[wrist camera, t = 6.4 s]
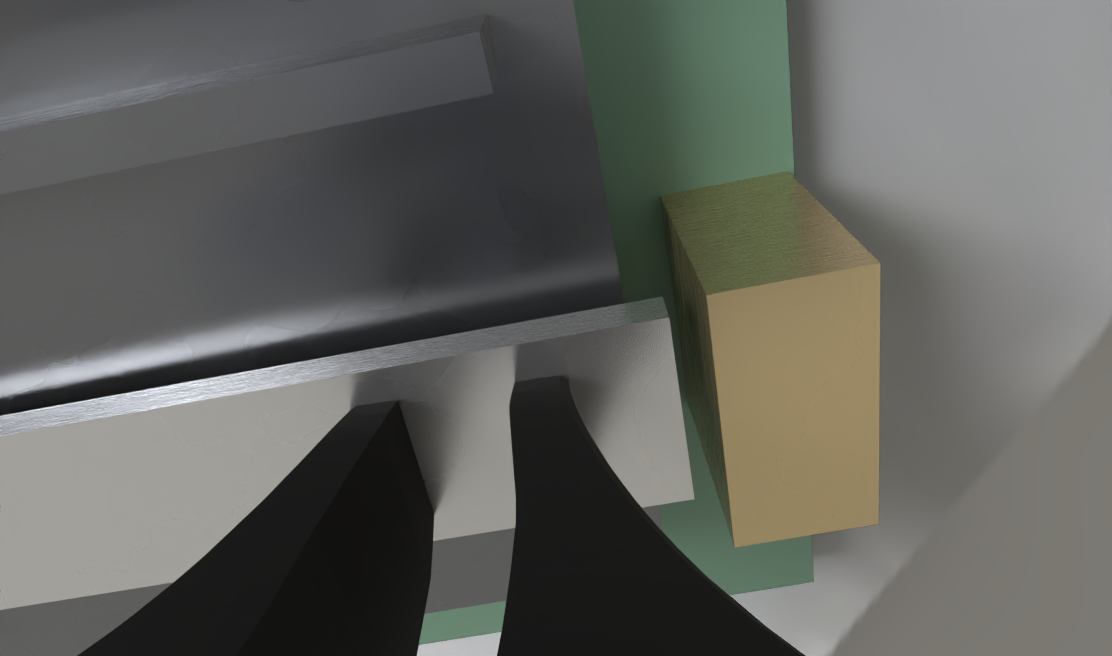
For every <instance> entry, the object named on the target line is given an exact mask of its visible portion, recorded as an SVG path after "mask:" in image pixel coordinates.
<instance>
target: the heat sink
mask: <svg viewBox="0 0 1112 656" xmlns="http://www.w3.org/2000/svg"><path fill="white" fill-rule="evenodd" d="M660 198H661V206H662V213H663V221H664V228H665V235H666V243H667V250H668V258H669V265H670V273H671V280H672V288H673V295H674V303H675V310H676V317H677V325H678V332H679V340H680V347H681V355H682V362H683V370H684V377H685V384H686V392H687V399H688V405H689V408H690V411H691V415H692V418H693V421H694V424H695V427H696V430H697V433H698V436H699V439H700V442H701V445H702V448H703V452H704V455H705V458H706V461H707V464H708V467H709V470H710V473H711V476H712V479H713V482H714V485H715V489H716V492H717V495H718V498H719V501H720V504H721V507H722V510H723V513H724V516H725V519H726V522H727V526H728V529H729V532H730V535H731V538H732V541H733V544H734V547H741V546H747V545H753V544H759V543H765V542H771V541H777V540H784V539H790V538H796V537H802V536H808V535H814V534H820V533H826V532H832V531H838V530H845V529H851V528H857V527H863V526H869V525H875V524H879V402H880V265H881V263H880V262H879V261H878V260H877V259H876V258H875V257H874V256H873V255H872V254H871V253H870V252H869V251H868V250H867V249H866V248H865V247H864V246H863V245H862V244H861V243H860V242H859V241H858V240H857V239H856V238H855V237H854V236H853V235H852V234H851V233H850V232H849V231H848V230H847V229H846V228H845V227H844V226H843V225H842V224H841V223H840V222H839V221H838V220H837V219H836V218H835V217H834V216H833V215H832V214H831V213H830V212H829V211H828V210H827V209H826V208H825V207H824V206H823V205H821V204H820V203H819V202H818V201H817V200H816V199H815V198H814V197H813V196H812V195H811V194H810V193H809V192H808V191H807V190H806V189H805V188H804V187H803V186H802V185H801V184H800V183H799V182H798V181H797V180H796V179H795V178H794V177H793V176H792V175H791V174H790V173H789V172H788V171H785V172H780V173H775V174H770V175H765V176H760V177H754V178H749V179H744V180H739V181H734V182H729V183H723V184H718V185H713V186H708V187H703V188H698V189H693V190H687V191H682V192H677V193H672V194H667V195H662V196H660ZM618 304H624V299H623V293H622V288H621V282H620V276H619V270H618V264H617V258H616V252H615V246H614V240H613V234H612V228H611V222H610V217H609V211H608V205H607V199H606V193H605V187H604V181H603V175H602V169H601V163H600V157H599V151H598V145H597V140H596V134H595V128H594V122H593V116H592V110H591V104H590V98H589V92H588V86H587V80H586V74H585V69H584V63H583V57H582V51H581V45H580V39H579V33H578V27H577V21H576V15H575V9H574V3H573V0H0V416H1V415H6V414H12V413H17V412H23V411H28V410H34V409H40V408H45V407H51V406H56V405H62V404H67V403H73V402H78V401H84V400H90V399H95V398H101V397H106V396H112V395H117V394H123V393H129V392H134V391H140V390H145V389H151V388H156V387H162V386H167V385H173V384H179V383H184V382H190V381H195V380H201V379H206V378H212V377H218V376H223V375H229V374H234V373H240V372H245V371H251V370H256V369H262V368H268V367H273V366H279V365H284V364H290V363H295V362H301V361H307V360H312V359H318V358H323V357H329V356H334V355H340V354H346V353H351V352H357V351H362V350H368V349H373V348H379V347H384V346H390V345H396V344H401V343H407V342H412V341H418V340H423V339H429V338H435V337H440V336H446V335H451V334H457V333H462V332H468V331H473V330H479V329H485V328H490V327H496V326H501V325H507V324H512V323H518V322H524V321H529V320H535V319H540V318H546V317H551V316H557V315H562V314H568V313H574V312H579V311H585V310H590V309H596V308H601V307H607V306H613V305H618ZM642 509H643V510H644V511H645V512H646V514H647V515H648V516H649V517H650V518H651V519H652V520H653V522H654V523H655V524H656V525H657V526H658V527H659V528H660V529H661V530H662V524H661V518H660V512H659V507H658V505H655V506H649V507H643V508H642ZM662 532H663V530H662ZM514 534H515V528H511V529H505V530H498V531H492V532H486V533H480V534H473V535H467V536H461V537H454V538H448V539H442V540H436V541H433V553H432V568H431V581H430V586H429V592H428V598H427V603H426V608H425V614H428V613H434V612H440V611H446V610H452V609H458V608H464V607H471V606H477V605H483V604H489V603H495V602H501V601H506V599H507V592H508V585H509V578H510V570H511V561H512V552H513V543H514ZM172 583H173V582H172ZM172 583H166V584H160V585H154V586H147V587H141V588H135V589H128V590H122V591H116V592H110V593H103V594H97V595H91V596H85V597H78V598H72V599H66V600H60V601H53V602H47V603H41V604H34V605H28V606H22V607H16V608H9V609H3V610H0V656H77V655H79V654H80V653H82V652H83V651H84V650H86V649H87V648H89V647H90V646H91V645H93V644H94V643H96V642H97V641H98V640H100V639H101V638H103V637H104V636H105V635H107V634H108V633H110V632H111V631H113V630H114V629H115V628H117V627H118V626H119V625H121V624H122V623H123V622H125V621H126V620H127V619H128V618H130V617H131V616H132V615H134V614H135V613H136V612H137V611H139V610H140V609H141V608H142V607H144V606H145V605H146V604H147V603H149V602H150V601H151V600H152V599H154V598H155V597H156V596H157V595H159V594H160V593H161V592H162V591H164V590H165V589H166V588H167V587H169V586H170V585H171V584H172Z"/></svg>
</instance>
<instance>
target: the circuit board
mask: <svg viewBox="0 0 1112 656" xmlns="http://www.w3.org/2000/svg"><path fill="white" fill-rule="evenodd" d="M573 3H574V9H575V15H576V21H577V27H578V33H579V39H580V45H581V51H582V57H583V63H584V69H585V74H586V80H587V86H588V92H589V98H590V104H591V110H592V116H593V122H594V128H595V134H596V140H597V145H598V151H599V157H600V163H601V169H602V175H603V181H604V187H605V193H606V199H607V205H608V211H609V217H610V222H611V228H612V234H613V240H614V246H615V252H616V258H617V264H618V270H619V276H620V282H621V288H622V293H623V299H624V303H629V302H635V301H640V300H646V299H652V298H657V297H663V300H664V303H665V306H666V309H667V312H668V315H669V320H670V327H671V334H672V341H673V348H674V355H675V363H676V370H677V377H678V384H679V391H680V399H681V406H682V413H683V420H684V427H685V434H686V442H687V449H688V456H689V463H690V470H691V477H692V485H693V492H694V499H693V500H686V501H680V502H674V503H668V504H661V505H658V507H659V512H660V518H661V524H662V530H663V533H664V534H665V535H666V536H667V537H668V538H669V539H670V540H671V541H672V542H673V543H674V544H675V545H676V546H677V548H678V549H679V550H681V551H682V552H683V553H684V554H685V555H686V556H687V557H688V558H689V559H690V560H691V561H692V562H693V563H694V564H695V565H696V566H697V567H698V568H699V569H700V570H701V571H702V572H703V573H704V574H705V575H706V576H707V577H708V578H709V579H711V580H712V581H713V582H714V583H715V584H717V585H718V586H719V587H720V588H721V589H722V590H724V591H725V592H726V593H727V594H728V595H733V594H740V593H746V592H752V591H758V590H765V589H771V588H777V587H783V586H790V585H796V584H802V583H808V582H814V577H813V556H812V535H808V536H802V537H796V538H790V539H784V540H777V541H771V542H765V543H759V544H753V545H747V546H741V547H734V544H733V541H732V538H731V535H730V532H729V529H728V526H727V522H726V519H725V516H724V513H723V510H722V507H721V504H720V501H719V498H718V495H717V492H716V489H715V485H714V482H713V479H712V476H711V473H710V470H709V467H708V464H707V461H706V458H705V455H704V452H703V448H702V445H701V442H700V439H699V436H698V433H697V430H696V427H695V424H694V421H693V418H692V415H691V411H690V408H689V405H688V399H687V392H686V384H685V377H684V370H683V362H682V355H681V347H680V340H679V332H678V325H677V317H676V310H675V303H674V295H673V288H672V280H671V273H670V265H669V258H668V250H667V243H666V235H665V228H664V221H663V213H662V206H661V198H660V196H662V195H667V194H672V193H677V192H682V191H687V190H693V189H698V188H703V187H708V186H713V185H718V184H723V183H729V182H734V181H739V180H744V179H749V178H754V177H760V176H765V175H770V174H775V173H780V172H785V171H788V172H789V173H790V174H791V175H792V176H793V177H794V157H793V136H792V115H791V94H790V73H789V52H788V31H787V10H786V0H573ZM505 606H506V601H501V602H495V603H489V604H483V605H477V606H471V607H464V608H458V609H452V610H446V611H440V612H434V613H428V614H424V619H423V624H422V630H421V635H420V640H419V645H421V644H427V643H434V642H440V641H446V640H452V639H459V638H465V637H471V636H477V635H484V634H490V633H496V632H502V626H503V620H504V613H505Z"/></svg>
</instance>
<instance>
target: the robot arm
mask: <svg viewBox="0 0 1112 656" xmlns="http://www.w3.org/2000/svg"><path fill="white" fill-rule="evenodd" d="M509 415H510V429H511V442H512V455H513V468H514V481H515V494H516V525H515V534H514V543H513V552H512V561H511V570H510V578H509V585H508V592H507V599H506V606H505V613H504V620H503V626H502V633H501V638H500V644H499V649H498V654H497V656H805V655H804V654H802V653H801V652H800V651H798V650H797V649H796V648H794V647H793V646H792V645H790V644H789V643H788V642H786V641H785V640H783V639H782V638H781V637H779V636H778V635H777V634H775V633H774V632H773V631H771V630H770V629H769V628H767V627H766V626H765V625H764V624H762V623H761V622H760V621H759V620H758V619H757V618H755V617H754V616H753V615H752V614H751V613H749V612H748V611H747V610H746V609H745V608H744V607H742V606H741V605H740V604H739V603H738V602H737V601H735V600H734V599H733V598H732V597H731V596H729V595H728V594H727V593H726V592H725V591H724V590H722V589H721V588H720V587H719V586H718V585H717V584H715V583H714V582H713V581H712V580H711V579H709V578H708V577H707V576H706V575H705V574H704V573H703V572H702V571H701V570H700V569H699V568H698V567H697V566H696V565H695V564H694V563H693V562H692V561H691V560H690V559H689V558H688V557H687V556H686V555H685V554H684V553H683V552H682V551H681V550H679V549H678V548H677V546H676V545H675V544H674V543H673V542H672V541H671V540H670V539H669V538H668V537H667V536H666V535H665V534H664V533H663V532H662V530H661V529H660V528H659V527H658V526H657V525H656V524H655V523H654V522H653V520H652V519H651V518H650V517H649V516H648V515H647V514H646V512H645V511H644V510H643V509H642V507H641V506H640V505H639V504H638V503H637V501H636V500H635V499H634V498H633V496H632V495H631V494H630V492H629V491H628V490H627V488H626V487H625V486H624V485H623V483H622V482H621V481H620V479H619V478H618V477H617V475H616V474H615V472H614V471H613V469H612V468H611V467H610V465H609V464H608V462H607V461H606V459H605V457H604V456H603V454H602V453H601V451H600V450H599V448H598V446H597V445H596V443H595V442H594V440H593V439H592V437H591V435H590V433H589V432H588V430H587V428H586V426H585V424H584V422H583V420H582V418H581V416H580V414H579V412H578V410H577V408H576V406H575V403H574V401H573V398H572V395H571V389H570V384H569V381H568V380H566V379H565V378H563V377H562V376H560V375H556V376H550V377H544V378H537V379H531V380H525V381H518V382H515V383H514V386H513V390H512V394H511V399H510V404H509ZM433 532H434V513H433V509H432V506H431V503H430V500H429V497H428V493H427V490H426V487H425V484H424V481H423V477H422V474H421V471H420V468H419V465H418V461H417V458H416V455H415V452H414V449H413V445H412V442H411V439H410V436H409V433H408V429H407V426H406V423H405V420H404V417H403V413H402V410H401V407H400V404H399V401H398V400H393V401H386V402H380V403H373V404H366V405H360V406H355V407H353V408H352V409H351V410H350V411H349V412H348V413H347V414H346V415H345V416H344V417H343V418H342V419H341V420H340V421H339V422H338V423H337V424H336V425H335V426H334V427H333V428H332V429H331V430H330V431H329V432H328V433H327V434H326V435H325V436H324V437H323V438H322V439H321V441H320V442H319V443H318V444H317V445H316V446H315V447H314V448H313V449H312V450H311V451H310V452H309V453H308V454H307V455H306V456H305V457H304V459H303V460H302V461H301V462H300V463H299V464H298V465H297V466H296V467H295V468H294V469H293V470H292V471H291V472H290V473H289V474H288V475H287V476H286V477H285V478H284V479H283V480H282V481H281V482H280V483H279V484H278V485H277V486H276V487H275V489H274V490H273V491H272V492H271V493H270V494H269V495H268V496H267V497H266V498H265V499H264V500H263V501H262V502H261V503H260V504H259V505H258V506H256V507H255V508H254V509H253V510H252V511H251V512H250V513H249V514H248V515H247V516H246V517H245V518H244V519H243V520H242V521H241V522H240V523H239V524H237V525H236V526H235V527H234V528H233V529H232V530H231V531H230V532H229V533H228V534H227V535H226V536H225V537H224V538H223V539H222V540H221V541H220V542H218V543H217V544H216V545H215V546H214V547H213V548H212V549H211V550H210V551H209V552H208V553H207V554H206V555H205V556H203V557H202V558H201V559H200V560H199V561H198V562H197V563H196V564H194V565H193V566H192V567H191V568H190V569H189V570H187V571H186V572H185V573H184V574H183V575H182V576H180V577H179V578H178V579H177V580H176V581H175V582H173V583H172V584H171V585H170V586H169V587H167V588H166V589H165V590H164V591H162V592H161V593H160V594H159V595H157V596H156V597H155V598H154V599H152V600H151V601H150V602H149V603H147V604H146V605H145V606H144V607H142V608H141V609H140V610H139V611H137V612H136V613H135V614H134V615H132V616H131V617H130V618H128V619H127V620H126V621H125V622H123V623H122V624H121V625H119V626H118V627H117V628H115V629H114V630H113V631H111V632H110V633H108V634H107V635H105V636H104V637H103V638H101V639H100V640H98V641H97V642H96V643H94V644H93V645H91V646H90V647H89V648H87V649H86V650H84V651H83V652H82V653H80V654H79V655H77V656H417V651H418V645H419V640H420V635H421V630H422V624H423V619H424V614H425V608H426V603H427V598H428V592H429V586H430V581H431V568H432V553H433Z"/></svg>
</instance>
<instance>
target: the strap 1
mask: <svg viewBox="0 0 1112 656" xmlns="http://www.w3.org/2000/svg"><path fill="white" fill-rule="evenodd" d="M556 375H560V376H562V377H563V378H565V379H566V380H568V381H569V384H570V389H571V395H572V398H573V401H574V403H575V406H576V408H577V410H578V412H579V414H580V416H581V418H582V420H583V422H584V424H585V426H586V428H587V430H588V432H589V433H590V435H591V437H592V439H593V440H594V442H595V443H596V445H597V446H598V448H599V450H600V451H601V453H602V454H603V456H604V457H605V459H606V461H607V462H608V464H609V465H610V467H611V468H612V469H613V471H614V472H615V474H616V475H617V477H618V478H619V479H620V481H621V482H622V483H623V485H624V486H625V487H626V488H627V490H628V491H629V492H630V494H631V495H632V496H633V498H634V499H635V500H636V501H637V503H638V504H639V505H640V506H641V507H642V508H643V507H649V506H655V505H661V504H668V503H674V502H680V501H686V500H693V499H694V492H693V485H692V477H691V470H690V463H689V456H688V449H687V442H686V434H685V427H684V420H683V413H682V406H681V399H680V391H679V384H678V377H677V370H676V363H675V355H674V348H673V341H672V334H671V327H670V320H669V315H668V312H667V309H666V306H665V303H664V300H663V297H657V298H652V299H646V300H640V301H635V302H629V303H624V304H618V305H613V306H607V307H601V308H596V309H590V310H585V311H579V312H574V313H568V314H562V315H557V316H551V317H546V318H540V319H535V320H529V321H524V322H518V323H512V324H507V325H501V326H496V327H490V328H485V329H479V330H473V331H468V332H462V333H457V334H451V335H446V336H440V337H435V338H429V339H423V340H418V341H412V342H407V343H401V344H396V345H390V346H384V347H379V348H373V349H368V350H362V351H357V352H351V353H346V354H340V355H334V356H329V357H323V358H318V359H312V360H307V361H301V362H295V363H290V364H284V365H279V366H273V367H268V368H262V369H256V370H251V371H245V372H240V373H234V374H229V375H223V376H218V377H212V378H206V379H201V380H195V381H190V382H184V383H179V384H173V385H167V386H162V387H156V388H151V389H145V390H140V391H134V392H129V393H123V394H117V395H112V396H106V397H101V398H95V399H90V400H84V401H78V402H73V403H67V404H62V405H56V406H51V407H45V408H40V409H34V410H28V411H23V412H17V413H12V414H6V415H1V416H0V610H3V609H9V608H16V607H22V606H28V605H34V604H41V603H47V602H53V601H60V600H66V599H72V598H78V597H85V596H91V595H97V594H103V593H110V592H116V591H122V590H128V589H135V588H141V587H147V586H154V585H160V584H166V583H172V582H175V581H176V580H177V579H178V578H179V577H180V576H182V575H183V574H184V573H185V572H186V571H187V570H189V569H190V568H191V567H192V566H193V565H194V564H196V563H197V562H198V561H199V560H200V559H201V558H202V557H203V556H205V555H206V554H207V553H208V552H209V551H210V550H211V549H212V548H213V547H214V546H215V545H216V544H217V543H218V542H220V541H221V540H222V539H223V538H224V537H225V536H226V535H227V534H228V533H229V532H230V531H231V530H232V529H233V528H234V527H235V526H236V525H237V524H239V523H240V522H241V521H242V520H243V519H244V518H245V517H246V516H247V515H248V514H249V513H250V512H251V511H252V510H253V509H254V508H255V507H256V506H258V505H259V504H260V503H261V502H262V501H263V500H264V499H265V498H266V497H267V496H268V495H269V494H270V493H271V492H272V491H273V490H274V489H275V487H276V486H277V485H278V484H279V483H280V482H281V481H282V480H283V479H284V478H285V477H286V476H287V475H288V474H289V473H290V472H291V471H292V470H293V469H294V468H295V467H296V466H297V465H298V464H299V463H300V462H301V461H302V460H303V459H304V457H305V456H306V455H307V454H308V453H309V452H310V451H311V450H312V449H313V448H314V447H315V446H316V445H317V444H318V443H319V442H320V441H321V439H322V438H323V437H324V436H325V435H326V434H327V433H328V432H329V431H330V430H331V429H332V428H333V427H334V426H335V425H336V424H337V423H338V422H339V421H340V420H341V419H342V418H343V417H344V416H345V415H346V414H347V413H348V412H349V411H350V410H351V409H352V408H353V407H355V406H360V405H366V404H373V403H380V402H386V401H393V400H398V401H399V404H400V407H401V410H402V413H403V417H404V420H405V423H406V426H407V429H408V433H409V436H410V439H411V442H412V445H413V449H414V452H415V455H416V458H417V461H418V465H419V468H420V471H421V474H422V477H423V481H424V484H425V487H426V490H427V493H428V497H429V500H430V503H431V506H432V509H433V513H434V532H433V541H436V540H442V539H448V538H454V537H461V536H467V535H473V534H480V533H486V532H492V531H498V530H505V529H511V528H515V525H516V494H515V481H514V468H513V455H512V442H511V429H510V415H509V404H510V399H511V394H512V390H513V386H514V383H515V382H518V381H525V380H531V379H537V378H544V377H550V376H556Z"/></svg>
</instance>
